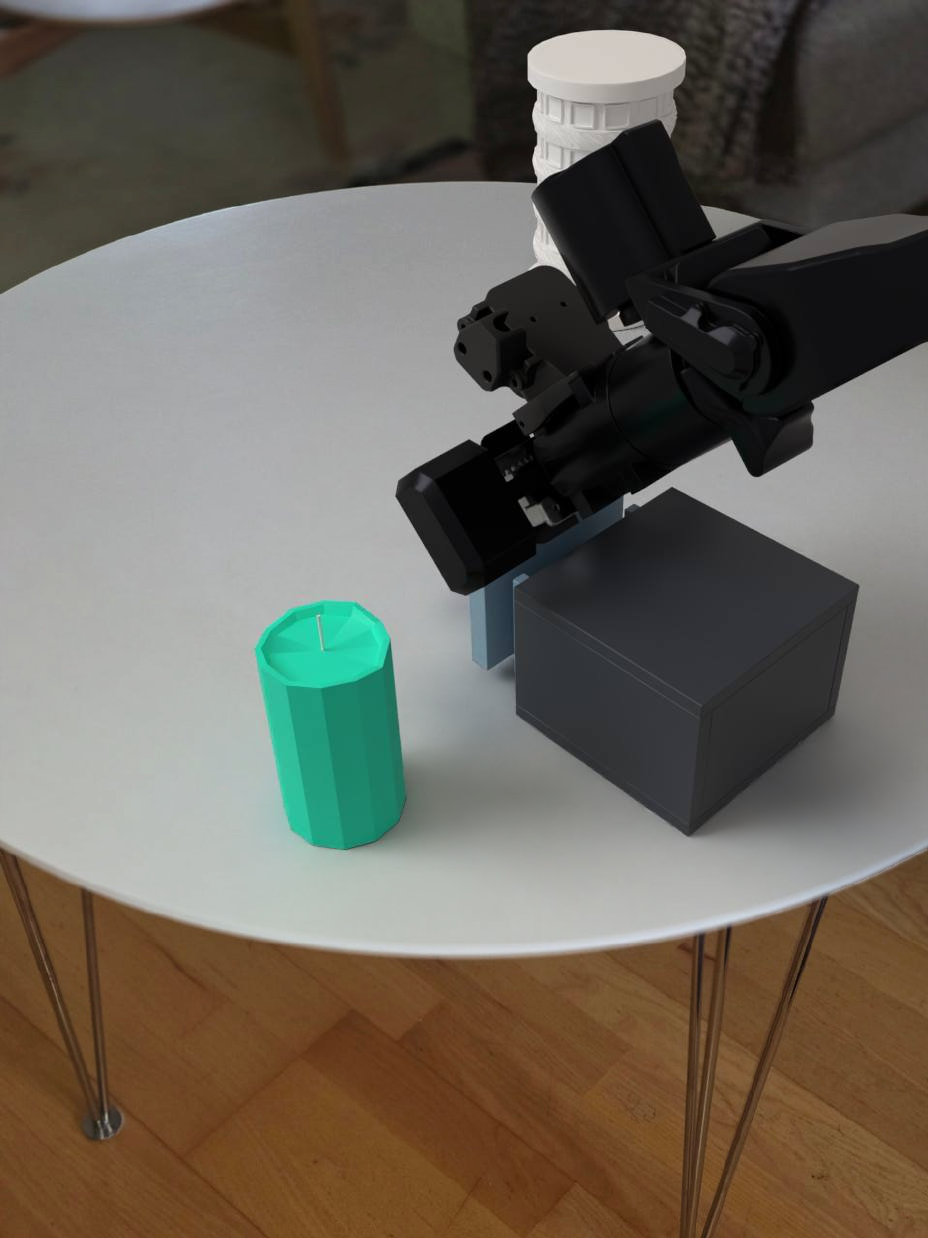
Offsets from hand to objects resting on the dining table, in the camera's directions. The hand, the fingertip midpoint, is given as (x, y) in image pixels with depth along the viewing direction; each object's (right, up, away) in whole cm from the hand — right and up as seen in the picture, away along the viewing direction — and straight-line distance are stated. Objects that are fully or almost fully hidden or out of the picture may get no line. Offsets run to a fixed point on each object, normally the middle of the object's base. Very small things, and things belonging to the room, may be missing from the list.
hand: (493, 502), depth 74 cm
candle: (-7, -15, -7) cm, 18 cm away
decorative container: (+9, +19, +32) cm, 38 cm away
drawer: (+4, -7, 0) cm, 9 cm away
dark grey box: (+9, -11, -3) cm, 15 cm away
